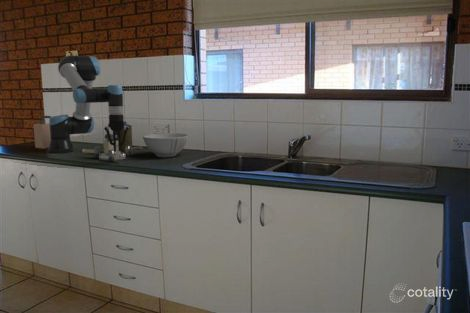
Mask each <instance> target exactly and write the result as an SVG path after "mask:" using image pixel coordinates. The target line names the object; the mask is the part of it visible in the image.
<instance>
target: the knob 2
mask: <svg viewBox="0 0 470 313" xmlns="http://www.w3.org/2000/svg"><path fill="white" fill-rule="evenodd" d="M143 150H144V148H143V146H142V145H140V146H134V147H133V148H130V145H126V146H125V153H126V157H130V156H132V154H131V153H130V151H133V152H135V151H143Z"/></svg>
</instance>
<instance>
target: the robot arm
mask: <svg viewBox="0 0 470 313" xmlns="http://www.w3.org/2000/svg"><path fill="white" fill-rule="evenodd" d="M100 66H101V65H100V62H99V60H98V58H97V57H96V56H94V55H93V56H92V55H66V56H65V57H63V58H62V59H60V61H59V63H58V68H57V69H58V73H59V75H61V77H62V78H64V79H65V80H66V82H67V83H68V85H69V86H70V88H71V90H72V98H73V101H74V102H75V111H73V112H72V116H69V114H58V115H55V116H54V115H53V116H51V118H48V119H49V120H48V121H49V122H48V124H49V125H50V137H51V141H50V145H49V148H48V153H50V154H63V153H65V154H66V153H71V152H74V151H75V149H74V145H73V143H72V141H71V135H80V134H83V135H85V134H90V133H92V132H93V130H94V127H95V119H94V117H93V116H92V114H91V113H90V109H91V103H93V104H95V103H108V106H107V107H108V125H107V126H104V130H105V132H106V134H107V135H108V139H109V142H110V144H111V145H113V146H114V152H116V158H119V151H121V145H123V144H124V141H125V137H126V132H127V130H128V129H129V127H127V126H125V124H124V104H123V103H124V96H123V95H124V94H123V93H124V91H123V86H122V85H120V84H109V85H107V87H103V88H101V87H100V88H93V83H94V81H96V77H97V76H100V74H101V67H100ZM123 127H124V130H125V131H124V135H123V140H122V142H121V135H120V131H121V130H122V129H123ZM110 130H111V131H112V134H113V142H112V139H111V136H110V134H111V133H110ZM116 131H118V145H116Z"/></svg>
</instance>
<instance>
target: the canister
mask: <svg viewBox="0 0 470 313" xmlns="http://www.w3.org/2000/svg"><path fill="white" fill-rule="evenodd" d="M124 124H125V126H127V127H129V129H128V130H127V132H126V137H125V141H124V144H123V145H121V152H124V153H125V146H126V145H130V148H133V131H132V127H133V125H132V124H131V125H130V124H128V123H127V121H124ZM124 131H125V130H124V127H123V129H122V130H121V131H120V135H121V142H122V140H123V135H124ZM116 135H117V136H118V131H116ZM130 153H131V155H133V154H134V151H130Z"/></svg>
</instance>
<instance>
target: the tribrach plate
mask: <svg viewBox="0 0 470 313" xmlns="http://www.w3.org/2000/svg"><path fill="white" fill-rule="evenodd" d="M110 136H111V139H112V142H113V133H110ZM104 139H105V140H102V143H103V145H102V146H103V153H100V154H99V158H98V159H99V160H100V161H108V162H110V161H109V156H108V150H114V146H113V145H111V144H110V142H109V139H108V135H107V133H106V134H105V135H104ZM116 145H118V136H117V135H116ZM114 153H116V152H114ZM119 153H120V154H125V157H124V158H120V157H119V158H116V157H115V161H120V160H124V159H125V160H126V158H127V156H126V153H124V152H121V151H119Z"/></svg>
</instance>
